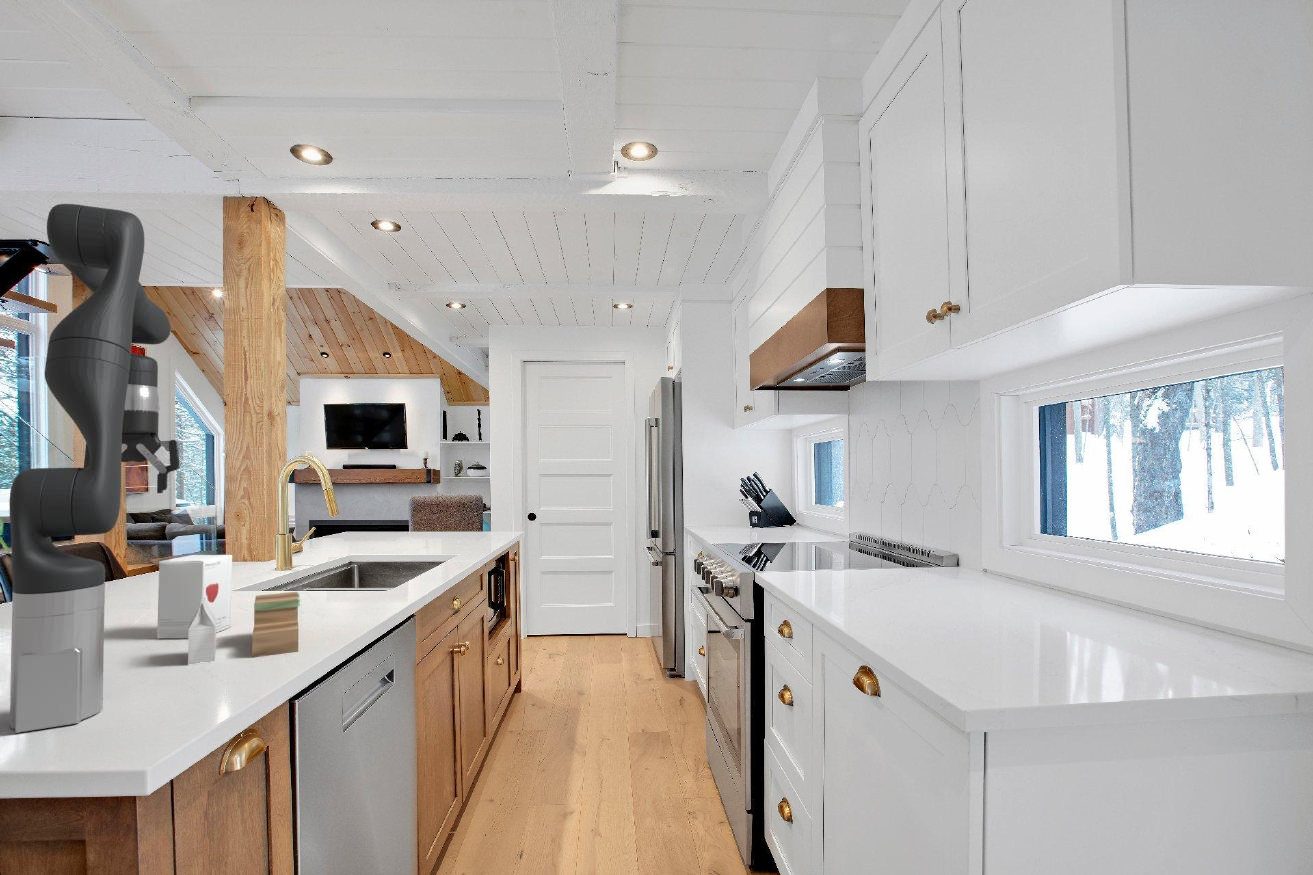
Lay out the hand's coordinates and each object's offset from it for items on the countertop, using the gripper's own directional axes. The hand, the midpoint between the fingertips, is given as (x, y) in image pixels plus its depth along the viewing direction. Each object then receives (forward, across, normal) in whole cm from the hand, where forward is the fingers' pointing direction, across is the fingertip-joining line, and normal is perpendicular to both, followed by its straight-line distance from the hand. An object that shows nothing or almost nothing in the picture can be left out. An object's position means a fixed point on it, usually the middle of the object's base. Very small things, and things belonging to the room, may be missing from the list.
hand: (132, 493), depth 127 cm
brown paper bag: (+28, +24, -18) cm, 41 cm away
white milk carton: (+28, +13, -21) cm, 38 cm away
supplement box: (+28, +10, 0) cm, 30 cm away
